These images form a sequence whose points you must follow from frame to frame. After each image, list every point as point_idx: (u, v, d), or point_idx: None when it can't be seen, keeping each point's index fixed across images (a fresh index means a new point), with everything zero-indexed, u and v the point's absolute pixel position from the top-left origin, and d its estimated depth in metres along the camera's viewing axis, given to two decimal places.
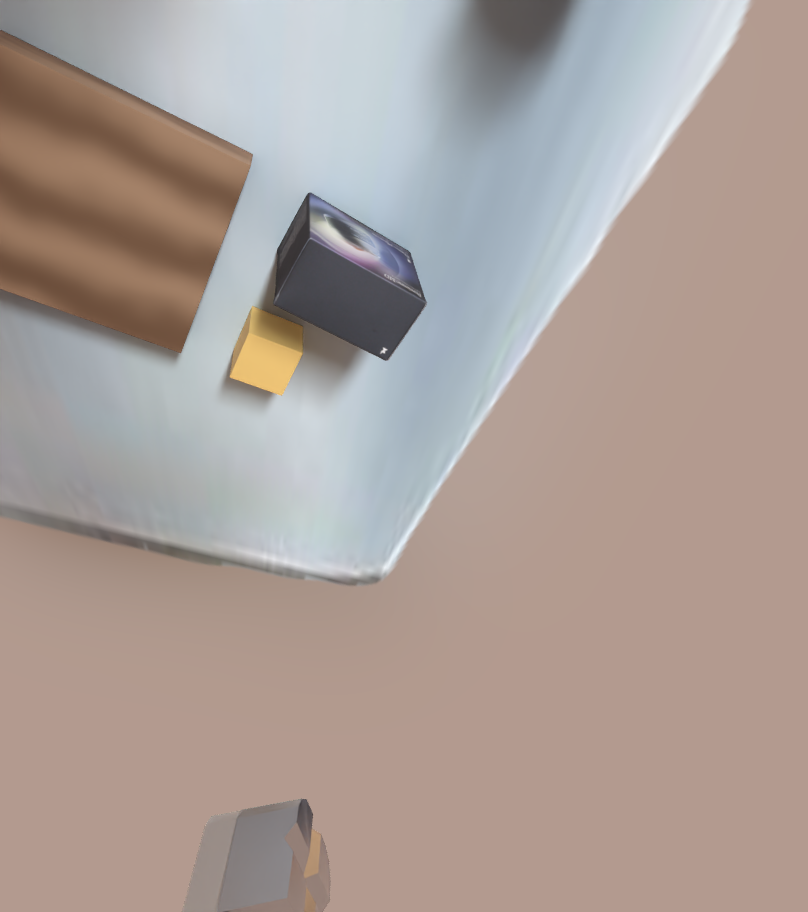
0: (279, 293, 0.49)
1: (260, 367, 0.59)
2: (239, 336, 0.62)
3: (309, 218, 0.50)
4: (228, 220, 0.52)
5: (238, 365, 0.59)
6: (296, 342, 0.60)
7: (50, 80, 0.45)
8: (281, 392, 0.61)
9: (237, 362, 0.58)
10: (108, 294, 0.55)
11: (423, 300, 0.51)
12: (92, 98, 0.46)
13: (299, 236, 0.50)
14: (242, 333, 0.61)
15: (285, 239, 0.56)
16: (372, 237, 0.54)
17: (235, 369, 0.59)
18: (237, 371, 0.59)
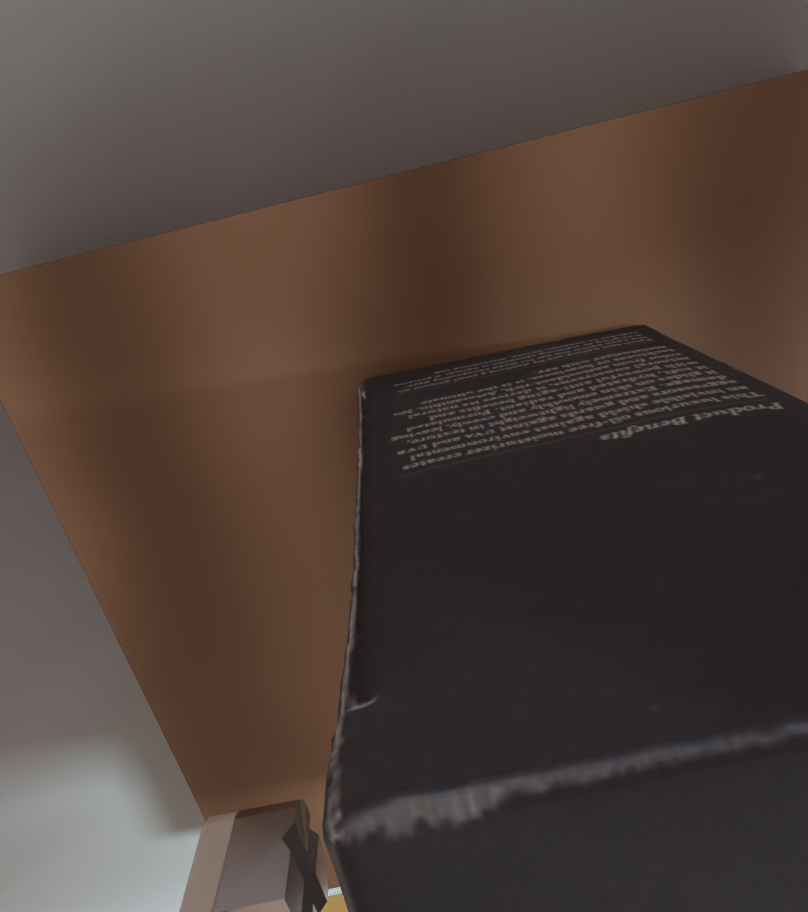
0: (496, 804, 0.04)
1: None
2: None
3: None
4: None
5: None
6: None
7: None
8: None
9: None
10: (277, 700, 0.16)
11: None
12: None
13: (761, 455, 0.07)
14: None
15: (448, 378, 0.12)
16: None
17: None
18: None
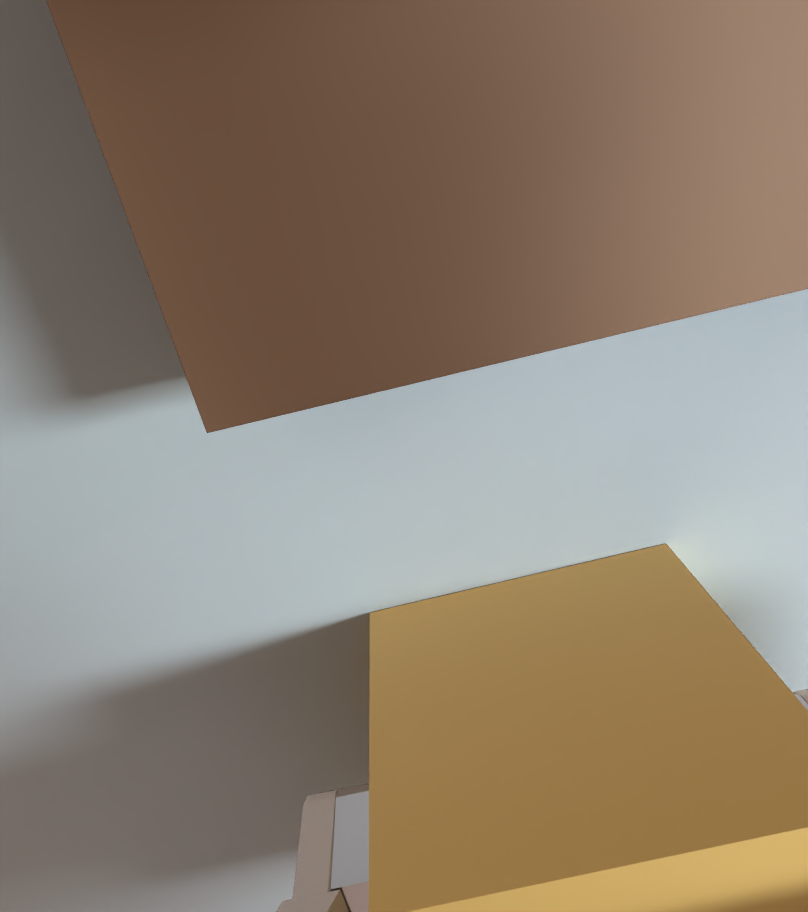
0: None
1: None
2: (467, 599, 0.11)
3: None
4: None
5: (527, 907, 0.06)
6: None
7: None
8: None
9: (551, 890, 0.06)
10: None
11: None
12: None
13: None
14: (548, 627, 0.10)
15: None
16: None
17: None
18: None
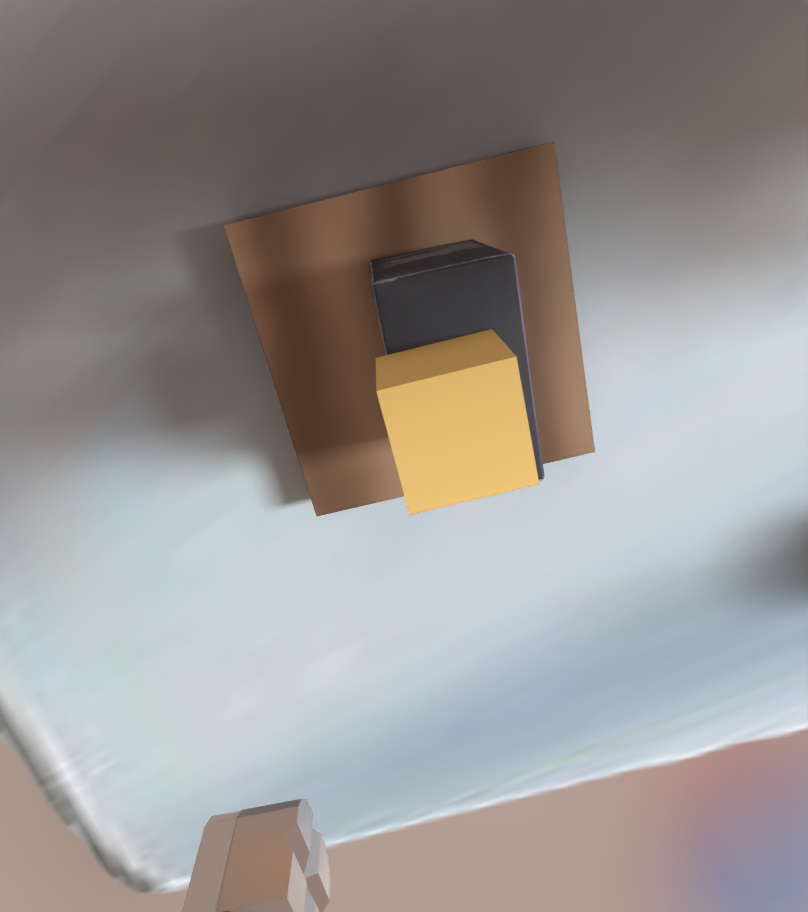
0: (396, 279, 0.27)
1: (447, 433, 0.24)
2: (413, 349, 0.27)
3: (493, 247, 0.30)
4: None
5: (420, 388, 0.23)
6: None
7: (551, 225, 0.36)
8: (416, 509, 0.25)
9: (426, 382, 0.23)
10: (333, 403, 0.39)
11: (543, 471, 0.30)
12: (560, 273, 0.37)
13: (466, 251, 0.30)
14: (441, 349, 0.26)
15: (400, 256, 0.35)
16: None
17: (405, 389, 0.23)
18: (403, 396, 0.23)
